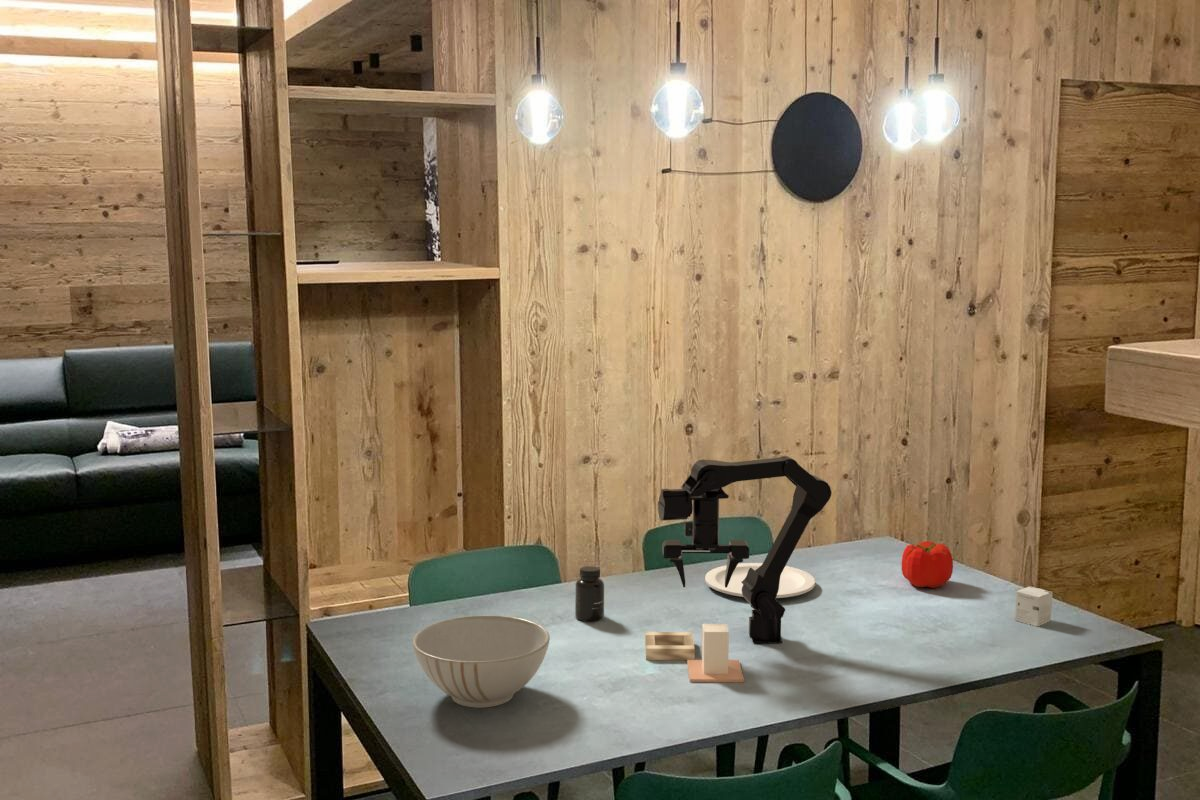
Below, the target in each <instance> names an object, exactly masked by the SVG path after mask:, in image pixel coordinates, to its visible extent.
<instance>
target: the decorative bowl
mask: <svg viewBox="0 0 1200 800" xmlns="http://www.w3.org/2000/svg"><path fill="white" fill-rule="evenodd" d="M549 644H550V633H549V632H548V630H547V629H546V628H545V627H544V626H542V625H540V624H539V623H537V622H534V621H531V620H529V619H525V618H520V617H515V616H509V615H494V614H493V615H492V614H491V615H489V614H484V615H483V614H481V615H480V614H479V615H469V616H468V615H467V616H460V617H453V618H449V619H446V620H441V621H439V622H435V623H432V624H429V625H427V626H425V627H424V628H422V629H421V630H419V631H418V632H417V633H416V634H415V635H414V637H413V639H412V647H413V650H414V654H415V657H416V659H417V662H418V664H419V665H420V667H421V669H422V671H423V673H424V674H425V675H426V677H427V678H428V679H429V680H430V682H431V683H432V684H433V685H434V686H435V687H436V688H437V689H439V690H441V692H443V693H444V694H446V695H447V696H450V697H451V700H452V701H453V702H454V703H456V704H458V705H460V706H463V707H468V708H477V709H478V708H479V709H480V708H483V709H484V708H493V707H497V706H501V705H503V704H506V703H508V702H509V701H510V700H512V699H513V697H514V694H515V693H517V692H518V691H520V690H521V689H523V688H524V687H525V686H526V685H527V684H528V683H529V682H530V681H531V680H532V679H533V677H534V676H535V675H536V673H538V670H539V669H540V668H541V665H542V663H543V662H544V660H545V658H546V654H547V651H548V649H549Z"/></svg>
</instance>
